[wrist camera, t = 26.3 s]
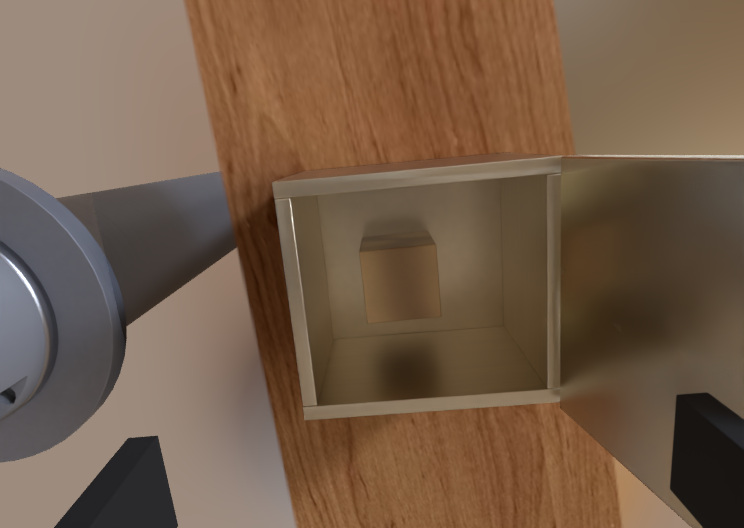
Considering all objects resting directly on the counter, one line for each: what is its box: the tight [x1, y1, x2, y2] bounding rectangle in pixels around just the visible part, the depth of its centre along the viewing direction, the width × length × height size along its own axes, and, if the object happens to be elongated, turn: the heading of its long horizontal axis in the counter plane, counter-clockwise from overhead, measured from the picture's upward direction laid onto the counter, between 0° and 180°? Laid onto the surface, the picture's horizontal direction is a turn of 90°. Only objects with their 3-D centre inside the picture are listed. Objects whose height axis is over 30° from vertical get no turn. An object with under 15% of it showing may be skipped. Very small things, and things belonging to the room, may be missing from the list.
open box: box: [272, 152, 563, 420], centre depth 28 cm, size 14×13×10 cm
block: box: [359, 231, 442, 324], centre depth 30 cm, size 4×4×4 cm
